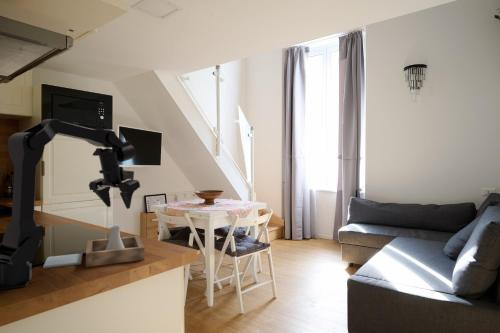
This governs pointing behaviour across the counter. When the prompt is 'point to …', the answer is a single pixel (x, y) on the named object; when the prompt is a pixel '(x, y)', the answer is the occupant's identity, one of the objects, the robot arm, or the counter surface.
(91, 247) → the walnut box
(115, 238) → the flask
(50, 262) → the pale grey flat slab
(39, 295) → the counter surface
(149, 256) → the counter surface
